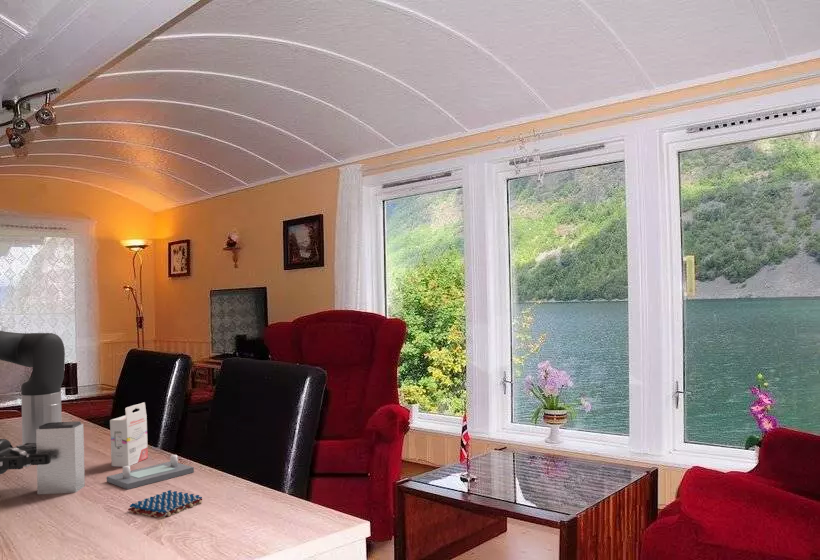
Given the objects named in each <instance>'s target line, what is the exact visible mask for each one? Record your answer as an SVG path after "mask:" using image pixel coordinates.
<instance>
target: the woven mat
mask: <svg viewBox="0 0 820 560" xmlns="http://www.w3.org/2000/svg"><path fill="white" fill-rule="evenodd" d="M202 503H203V496H200V494H196V495H195V494H194V493H190V494H188V492H185V493H183V492H182V491H180V492H178V491H177V490H173V491H172V490H171V489H169V490H167V491H162V492H161V493H160V494H155V495H154V496H150V497H148V498H147V497H146V498H144V499H142V500H138V501H136V502H135V503H131V504H130V505H129V508H128V509H127V510H128V512H129V513H131V514H132V513H133V514H137V515H142V516H147V517H152V518H158V519H167V517H171V516H175V515H176V514H179V513H180V512H184V511H185V510H188V509H189V508H193V507H197V506H198V505H201V504H202Z"/></svg>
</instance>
